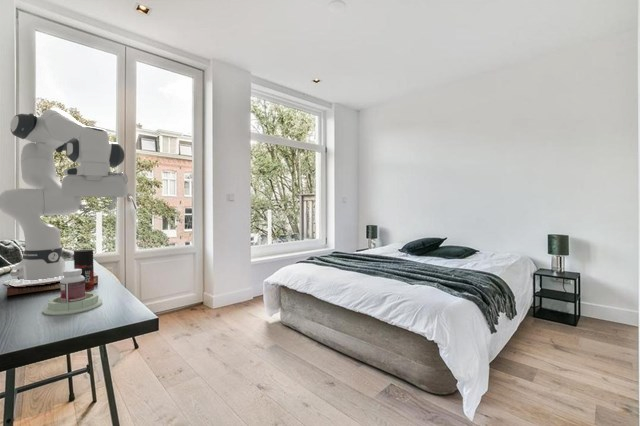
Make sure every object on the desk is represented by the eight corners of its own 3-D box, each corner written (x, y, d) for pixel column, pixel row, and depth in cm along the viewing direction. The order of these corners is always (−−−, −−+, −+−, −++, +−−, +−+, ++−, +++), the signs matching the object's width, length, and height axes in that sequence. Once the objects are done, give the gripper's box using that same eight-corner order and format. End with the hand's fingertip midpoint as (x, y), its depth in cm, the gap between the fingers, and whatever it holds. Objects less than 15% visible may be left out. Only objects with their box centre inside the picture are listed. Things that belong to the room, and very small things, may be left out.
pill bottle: (89, 300, 105) (88, 267, 105) (79, 306, 99) (78, 271, 99) (67, 302, 104) (67, 268, 103) (56, 308, 98) (55, 272, 97)
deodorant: (83, 291, 119) (82, 251, 118) (70, 291, 120) (69, 251, 119) (97, 287, 124) (97, 249, 124) (85, 286, 126) (84, 249, 125)
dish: (30, 312, 96) (30, 302, 96) (81, 298, 111) (81, 289, 111) (65, 317, 92) (64, 307, 92) (113, 302, 106) (113, 293, 106)
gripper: (130, 173, 121) (130, 209, 121) (68, 171, 116) (68, 209, 117) (124, 171, 115) (124, 209, 115) (58, 169, 110) (59, 209, 110)
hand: (96, 209), depth 116 cm, fingers open, 8 cm apart
